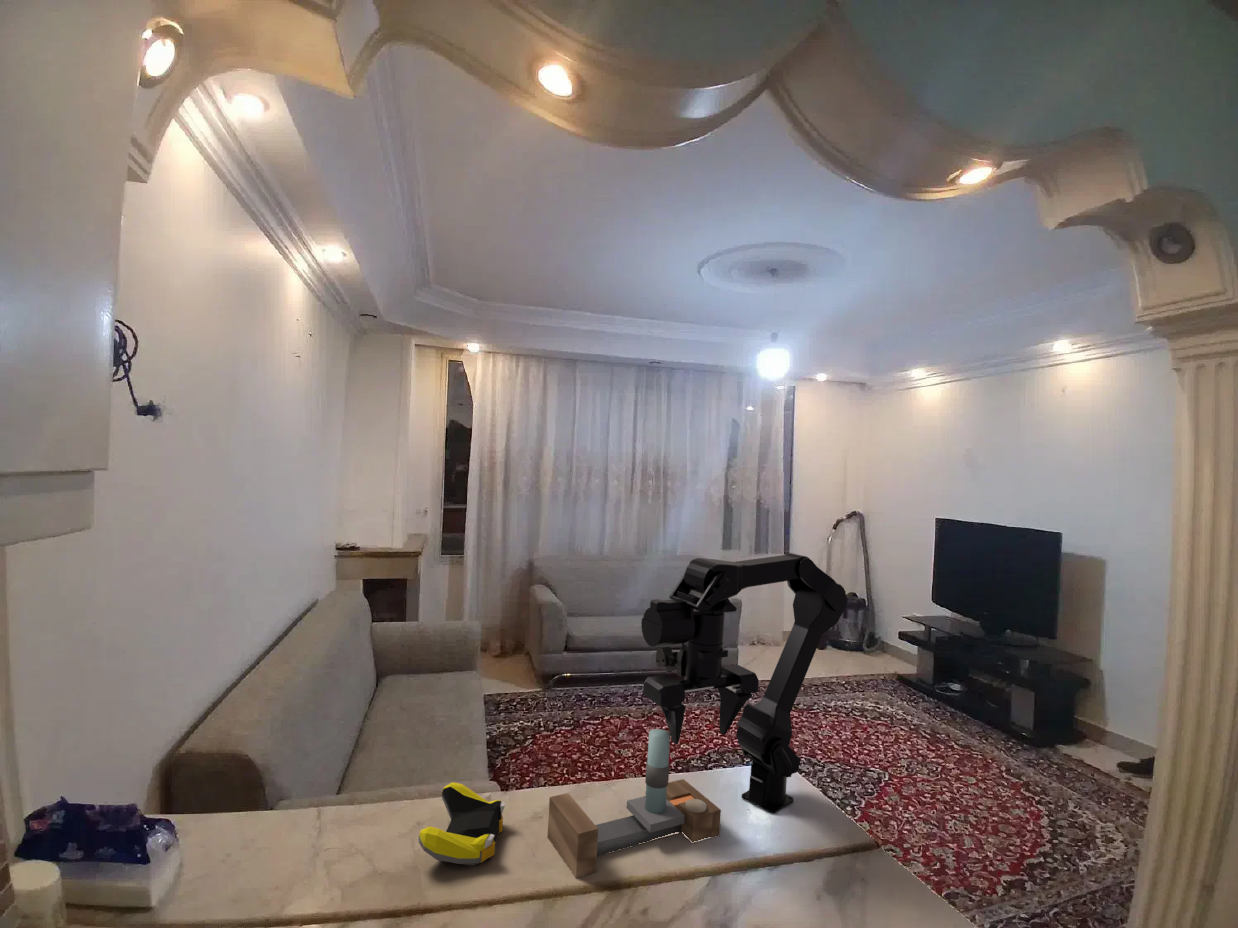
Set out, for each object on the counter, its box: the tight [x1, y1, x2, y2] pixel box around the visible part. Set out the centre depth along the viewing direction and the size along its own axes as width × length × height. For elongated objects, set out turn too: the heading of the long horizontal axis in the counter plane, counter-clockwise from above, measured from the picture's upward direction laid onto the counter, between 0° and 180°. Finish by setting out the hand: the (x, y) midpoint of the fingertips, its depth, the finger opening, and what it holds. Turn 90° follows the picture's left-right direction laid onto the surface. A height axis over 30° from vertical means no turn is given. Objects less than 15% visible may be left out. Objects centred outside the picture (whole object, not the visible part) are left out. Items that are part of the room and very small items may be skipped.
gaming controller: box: [418, 781, 506, 867], centre depth 93 cm, size 15×6×10 cm
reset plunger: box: [669, 796, 694, 809], centre depth 100 cm, size 4×1×1 cm, turn 119°
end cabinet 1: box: [547, 792, 598, 879], centre depth 91 cm, size 3×10×6 cm, turn 29°
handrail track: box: [595, 814, 681, 857], centre depth 96 cm, size 22×4×2 cm, turn 119°
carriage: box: [626, 728, 685, 833], centre depth 98 cm, size 6×7×13 cm
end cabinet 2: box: [667, 778, 722, 842], centre depth 101 cm, size 5×10×4 cm, turn 29°
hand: (699, 738), depth 102 cm, fingers open, 9 cm apart
